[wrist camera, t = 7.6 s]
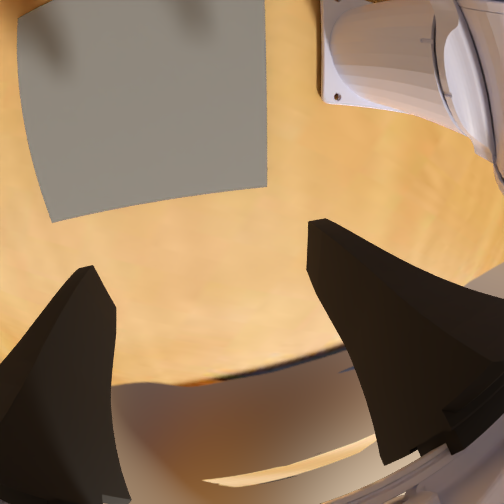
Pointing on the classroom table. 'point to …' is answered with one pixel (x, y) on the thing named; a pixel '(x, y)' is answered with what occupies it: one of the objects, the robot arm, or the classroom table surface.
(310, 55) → the classroom table surface
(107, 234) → the classroom table surface
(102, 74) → the mat
